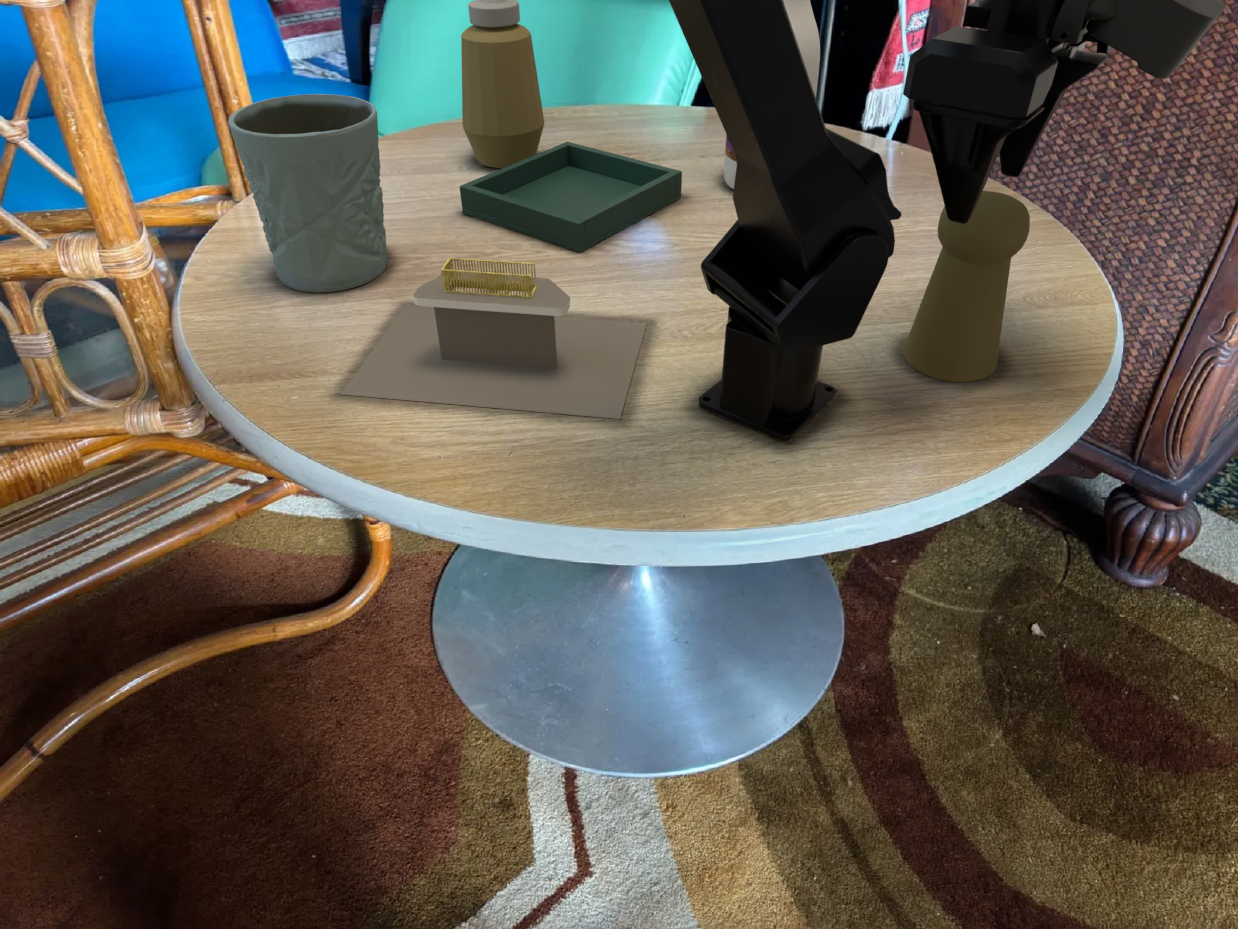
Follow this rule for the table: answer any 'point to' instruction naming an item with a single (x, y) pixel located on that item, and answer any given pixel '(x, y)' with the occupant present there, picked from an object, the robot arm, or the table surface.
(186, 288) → the table surface
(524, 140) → the squeeze bottle
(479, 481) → the table surface
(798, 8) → the milk bottle
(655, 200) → the serving tray
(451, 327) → the platform
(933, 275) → the brown game pawn
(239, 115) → the embossed green cup
